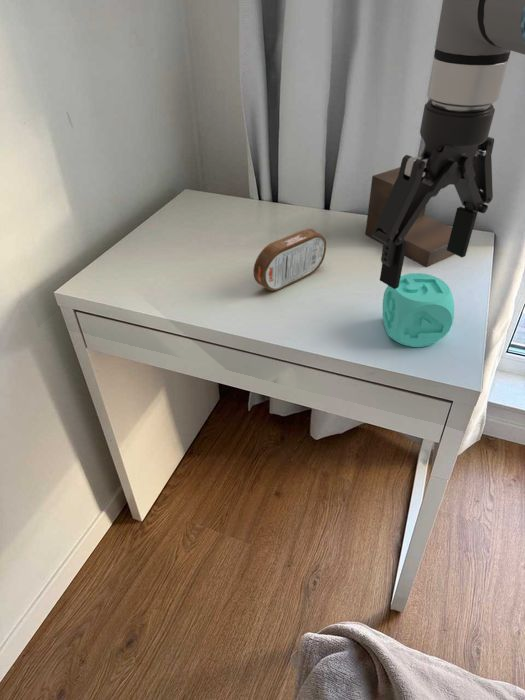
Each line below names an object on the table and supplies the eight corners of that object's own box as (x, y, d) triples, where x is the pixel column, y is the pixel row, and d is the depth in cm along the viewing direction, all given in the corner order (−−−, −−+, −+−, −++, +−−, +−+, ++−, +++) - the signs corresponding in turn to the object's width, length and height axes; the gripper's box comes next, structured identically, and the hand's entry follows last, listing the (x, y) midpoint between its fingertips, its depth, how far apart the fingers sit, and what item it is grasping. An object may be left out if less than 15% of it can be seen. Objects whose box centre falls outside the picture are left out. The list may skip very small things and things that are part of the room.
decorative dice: (446, 346, 73) (459, 301, 68) (393, 349, 73) (401, 304, 67) (429, 314, 79) (439, 270, 74) (379, 317, 79) (386, 273, 74)
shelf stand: (465, 249, 95) (482, 188, 87) (426, 267, 90) (440, 204, 82) (403, 220, 105) (413, 162, 97) (365, 234, 100) (372, 175, 93)
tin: (315, 262, 92) (318, 220, 87) (327, 269, 90) (331, 226, 85) (252, 292, 85) (251, 248, 80) (264, 300, 83) (263, 255, 78)
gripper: (500, 79, 63) (460, 232, 77) (353, 114, 52) (337, 285, 66) (556, 90, 58) (502, 251, 72) (407, 132, 47) (378, 312, 61)
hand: (423, 268), depth 69 cm, fingers open, 13 cm apart
